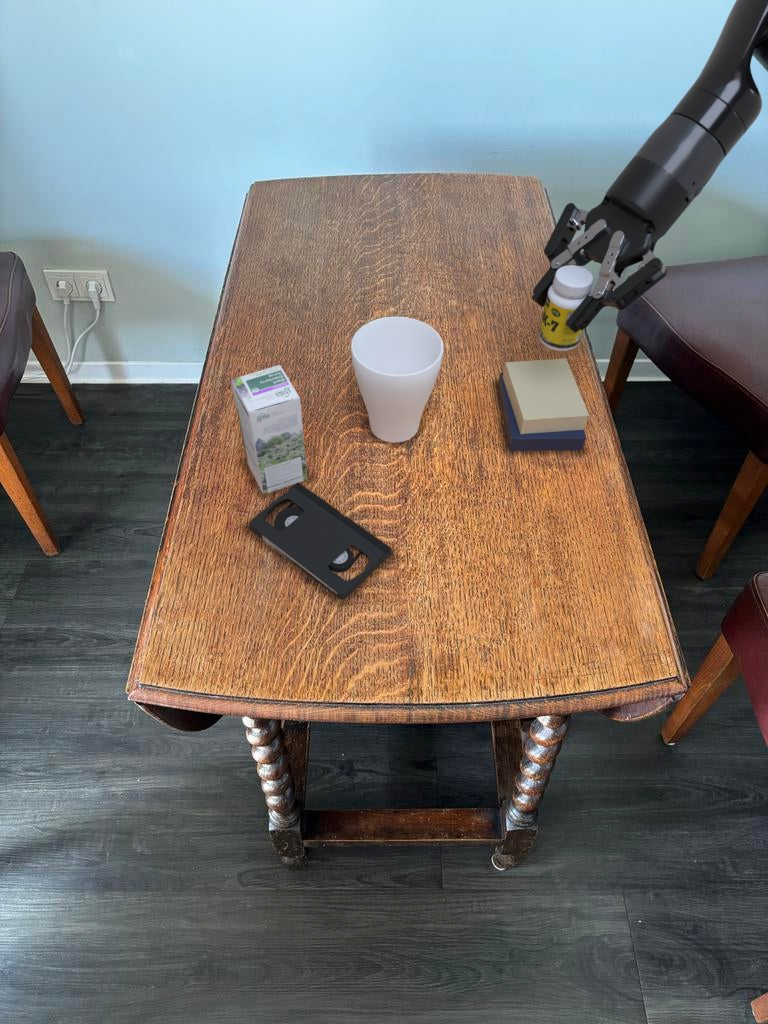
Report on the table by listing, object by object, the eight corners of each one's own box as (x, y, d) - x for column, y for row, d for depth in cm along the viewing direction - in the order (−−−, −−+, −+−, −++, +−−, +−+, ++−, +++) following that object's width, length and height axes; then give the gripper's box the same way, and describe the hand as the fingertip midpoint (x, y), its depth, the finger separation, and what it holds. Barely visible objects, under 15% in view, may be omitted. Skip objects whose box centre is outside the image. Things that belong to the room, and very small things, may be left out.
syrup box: (291, 451, 89) (279, 360, 78) (309, 485, 86) (300, 394, 75) (247, 466, 88) (228, 375, 76) (264, 501, 85) (247, 411, 73)
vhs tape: (249, 533, 82) (247, 522, 80) (299, 493, 85) (297, 482, 84) (342, 605, 76) (342, 595, 74) (391, 558, 80) (391, 548, 78)
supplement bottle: (531, 330, 84) (544, 266, 77) (568, 322, 85) (584, 259, 78) (549, 356, 81) (564, 292, 74) (587, 348, 82) (605, 284, 75)
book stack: (580, 454, 90) (591, 423, 85) (508, 455, 90) (515, 423, 85) (563, 388, 97) (572, 356, 93) (497, 389, 97) (503, 357, 93)
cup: (350, 402, 95) (347, 317, 84) (429, 398, 96) (437, 313, 85) (355, 462, 88) (353, 378, 78) (440, 457, 89) (450, 373, 78)
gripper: (601, 129, 74) (495, 270, 80) (711, 190, 67) (587, 340, 72) (624, 166, 80) (524, 295, 86) (727, 225, 73) (611, 361, 78)
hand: (553, 315), depth 79 cm, fingers closed on supplement bottle, 4 cm apart
